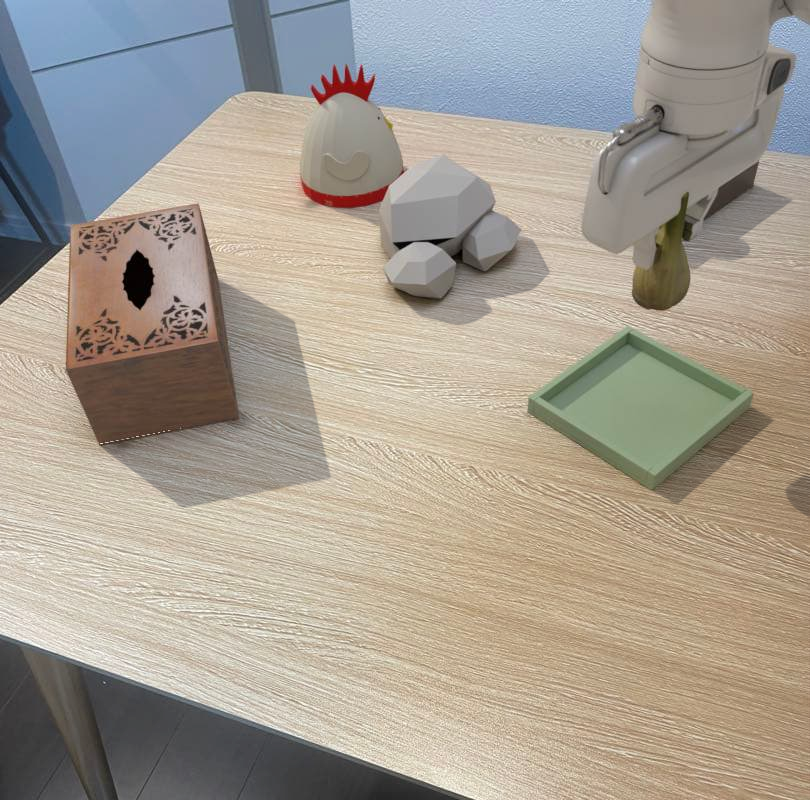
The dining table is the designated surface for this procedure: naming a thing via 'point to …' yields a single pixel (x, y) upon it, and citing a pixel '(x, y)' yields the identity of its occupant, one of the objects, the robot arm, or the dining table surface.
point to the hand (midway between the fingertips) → (666, 249)
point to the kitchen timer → (348, 146)
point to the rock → (440, 226)
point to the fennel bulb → (665, 268)
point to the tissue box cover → (147, 325)
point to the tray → (640, 405)
